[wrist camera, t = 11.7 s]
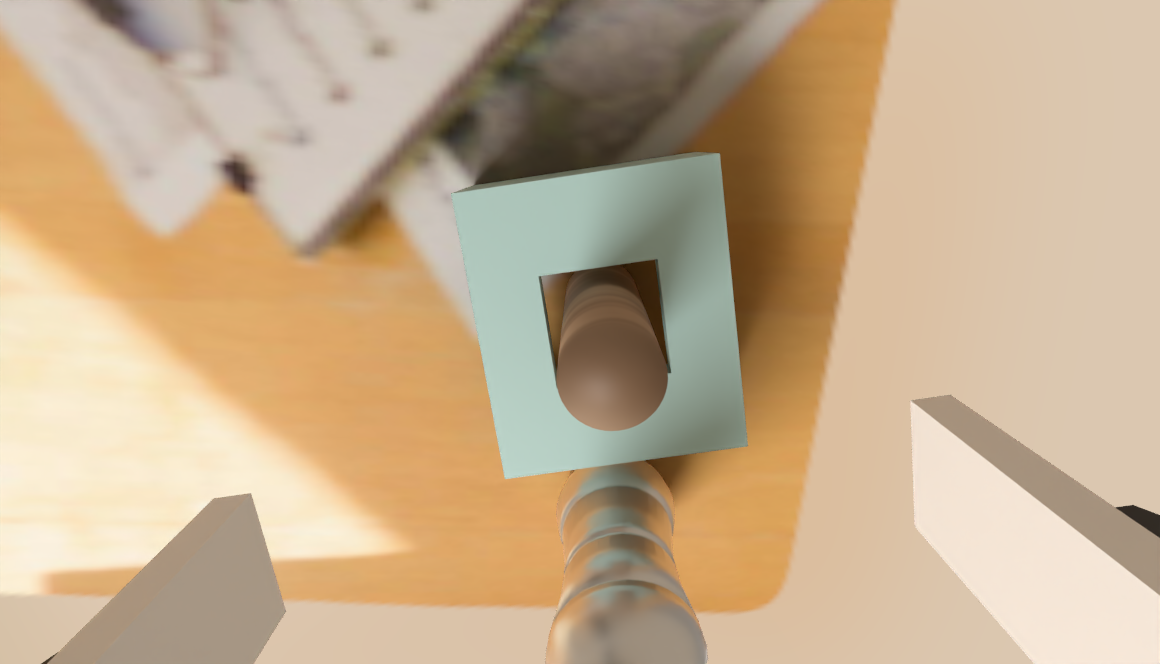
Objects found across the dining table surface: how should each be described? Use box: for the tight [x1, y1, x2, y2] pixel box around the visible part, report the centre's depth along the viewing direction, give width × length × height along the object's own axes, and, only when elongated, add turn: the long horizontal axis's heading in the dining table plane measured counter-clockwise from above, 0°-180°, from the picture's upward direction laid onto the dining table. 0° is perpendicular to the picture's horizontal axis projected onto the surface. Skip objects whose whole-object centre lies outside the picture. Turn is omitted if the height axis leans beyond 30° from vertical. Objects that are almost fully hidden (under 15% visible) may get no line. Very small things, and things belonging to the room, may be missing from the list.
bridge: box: [451, 152, 748, 479], centre depth 37 cm, size 14×12×7 cm
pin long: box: [556, 265, 668, 431], centre depth 33 cm, size 4×4×15 cm
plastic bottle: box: [545, 460, 708, 664], centre depth 34 cm, size 6×7×20 cm
